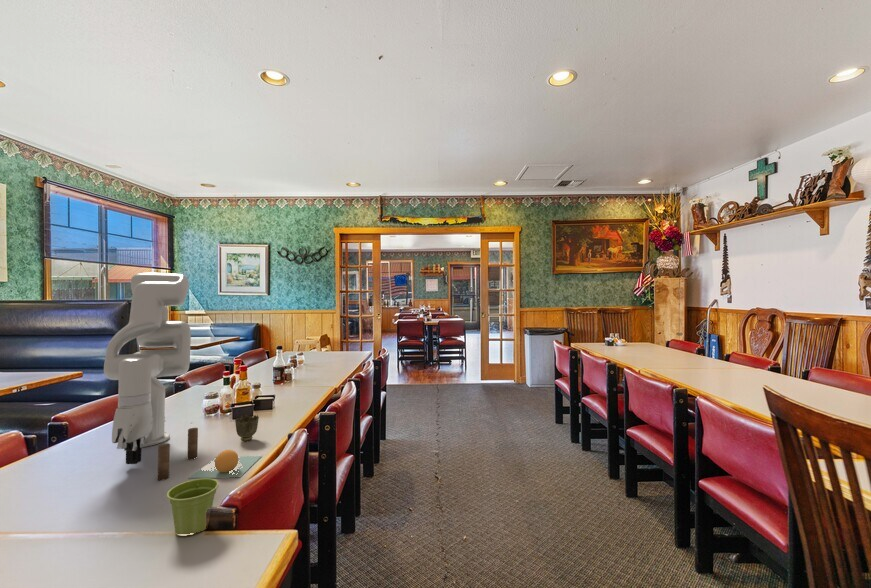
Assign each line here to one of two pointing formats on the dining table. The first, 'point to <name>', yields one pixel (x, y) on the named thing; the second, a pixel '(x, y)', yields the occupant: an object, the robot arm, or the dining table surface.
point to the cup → (246, 427)
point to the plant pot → (192, 504)
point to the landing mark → (244, 460)
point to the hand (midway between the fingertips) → (133, 462)
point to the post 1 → (163, 461)
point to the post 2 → (192, 443)
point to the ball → (226, 461)
